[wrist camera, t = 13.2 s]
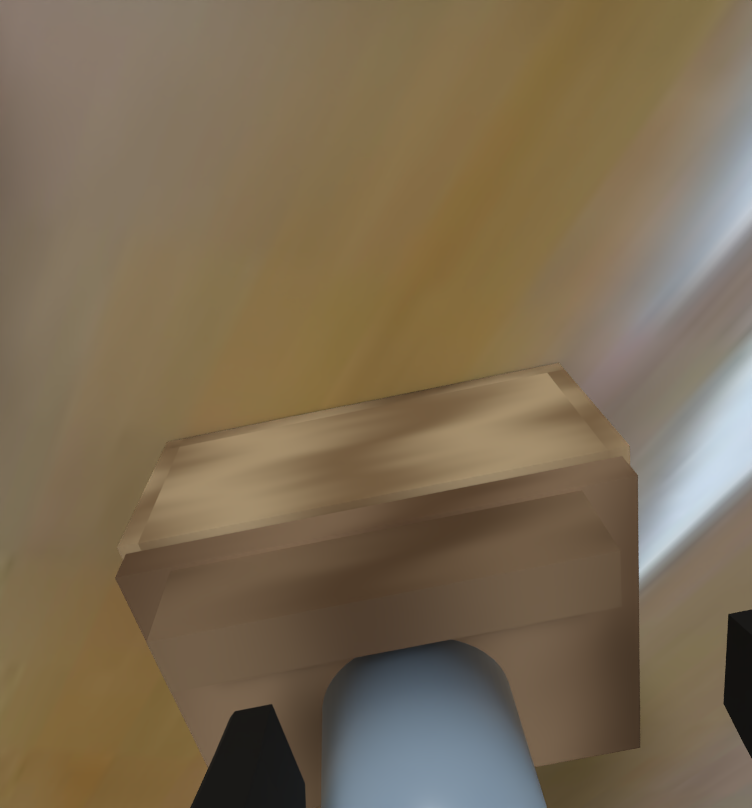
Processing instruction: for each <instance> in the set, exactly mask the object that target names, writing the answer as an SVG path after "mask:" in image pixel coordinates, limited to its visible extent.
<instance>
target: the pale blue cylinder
mask: <svg viewBox="0 0 752 808" xmlns="http://www.w3.org/2000/svg"><path fill="white" fill-rule="evenodd" d="M321 808H547V806H546V803H545V800H544V796H543V793H542V790H541V787H540V783H539V780H538V777H537V773H536V770H535V767H534V764H533V760H532V757H531V754H530V750H529V747H528V744H527V741H526V737H525V734H524V731H523V727H522V724H521V721H520V718H519V714H518V711H517V708H516V704H515V701H514V698H513V695H512V691H511V688H510V685H509V682H508V679H507V677H506V675H505V673H504V671H503V670H502V668H501V667H500V666H499V665H498V663H497V662H496V661H495V660H494V659H493V658H491V657H490V656H489V655H487V654H486V653H485V652H483V651H481V650H479V649H478V648H476V647H473V646H471V645H469V644H466V643H463V642H460V641H456V640H452V639H450V640H445V641H440V642H435V643H430V644H424V645H419V646H414V647H409V648H403V649H398V650H393V651H388V652H382V653H377V654H372V655H367V656H361V657H356V658H354V659H353V660H351V661H350V662H349V663H347V664H346V665H345V666H344V667H343V668H342V669H341V670H340V671H339V672H338V673H337V674H336V676H335V677H334V678H333V679H332V681H331V683H330V684H329V686H328V688H327V690H326V693H325V696H324V700H323V705H322V768H321Z"/></svg>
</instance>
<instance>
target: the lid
mask: <svg viewBox="0 0 752 808" xmlns="http://www.w3.org/2000/svg"><path fill="white" fill-rule="evenodd" d="M115 579H116V581H117V583H118V585H119V587H120V589H121V591H122V593H123V595H124V597H125V599H126V601H127V603H128V605H129V607H130V609H131V611H132V613H133V615H134V617H135V620H136V622H137V624H138V626H139V628H140V630H141V632H142V634H143V636H144V638H145V640H146V643H147V645H148V647H149V649H150V651H151V653H152V655H153V657H154V659H155V661H156V663H157V665H158V667H159V669H160V671H161V673H162V675H163V677H164V679H165V681H166V684H167V686H168V688H169V690H170V692H171V693H172V695H173V697H174V699H175V701H176V703H177V705H178V707H179V709H180V712H181V714H182V716H183V718H184V720H185V722H186V724H187V726H188V728H189V730H190V732H191V734H192V736H193V738H194V740H195V742H196V744H197V746H198V748H199V750H200V752H201V754H202V757H203V759H204V761H205V763H206V765H207V767H208V768H209V765H210V763H211V761H212V759H213V756H214V754H215V752H216V749H217V747H218V745H219V742H220V740H221V738H222V735H223V733H224V731H225V728H226V726H227V723H228V721H229V719H230V717H231V715H232V714H233V713H234V712H235V711H238V710H243V709H249V708H254V707H259V706H264V705H269V704H272V705H273V708H274V710H275V712H276V715H277V717H278V720H279V722H280V724H281V727H282V729H283V732H284V734H285V736H286V739H287V741H288V743H289V746H290V748H291V751H292V753H293V755H294V758H295V760H296V763H297V765H298V767H299V770H300V772H301V775H302V777H303V779H304V782H305V794H306V808H316V807H321V768H322V705H323V700H324V696H325V693H326V690H327V688H328V686H329V684H330V683H331V681H332V679H333V678H334V677H335V676H336V674H337V673H338V672H339V671H340V670H341V669H342V668H343V667H344V666H345V665H346V664H347V663H349V662H350V661H351V660H353V659H354V658H356V657H361V656H367V655H372V654H377V653H382V652H388V651H393V650H398V649H403V648H409V647H414V646H419V645H424V644H430V643H435V642H440V641H445V640H450V639H452V640H456V641H460V642H463V643H466V644H469V645H471V646H473V647H476V648H478V649H479V650H481V651H483V652H485V653H486V654H487V655H489V656H490V657H491V658H493V659H494V660H495V661H496V662H497V663H498V665H499V666H500V667H501V668H502V670H503V671H504V673H505V675H506V677H507V679H508V682H509V685H510V688H511V691H512V695H513V698H514V701H515V704H516V708H517V711H518V714H519V718H520V721H521V724H522V727H523V731H524V734H525V737H526V741H527V744H528V747H529V750H530V754H531V757H532V760H533V764H534V767H538V766H543V765H549V764H554V763H560V762H565V761H570V760H576V759H581V758H587V757H592V756H597V755H603V754H608V753H614V752H619V751H625V750H630V749H635V748H640V668H639V560H638V475H637V474H636V473H635V471H634V470H633V469H632V468H631V466H630V465H629V464H628V463H627V461H626V460H625V459H624V458H623V456H620V457H614V458H609V459H604V460H599V461H594V462H589V463H584V464H579V465H574V466H569V467H564V468H559V469H554V470H549V471H544V472H539V473H533V474H528V475H523V476H518V477H513V478H508V479H503V480H498V481H493V482H488V483H483V484H478V485H473V486H468V487H463V488H458V489H452V490H447V491H442V492H437V493H432V494H427V495H422V496H417V497H412V498H407V499H402V500H397V501H392V502H387V503H382V504H376V505H371V506H366V507H361V508H356V509H351V510H346V511H341V512H336V513H331V514H326V515H321V516H316V517H311V518H306V519H301V520H295V521H290V522H285V523H280V524H275V525H270V526H265V527H260V528H255V529H250V530H245V531H240V532H235V533H230V534H225V535H220V536H214V537H209V538H204V539H199V540H194V541H189V542H184V543H179V544H174V545H169V546H164V547H159V548H154V549H149V550H144V551H139V552H133V553H128V554H126V555H125V557H124V559H123V562H122V564H121V566H120V568H119V571H118V573H117V575H116V577H115Z"/></svg>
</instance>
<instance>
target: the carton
mask: <svg viewBox="0 0 752 808" xmlns="http://www.w3.org/2000/svg"><path fill="white" fill-rule="evenodd" d="M620 456H623V458H624V459H625V460H626V461H627V463H628V464H629V465H630V446H629V445H628V443H627V442H626V441H625V440H624V439H623V438H622V436H621V435H620V434H619V433H618V432H617V431H616V429H615V428H614V427H613V426H612V425H611V423H610V422H609V421H608V420H607V419H606V418H605V416H604V415H603V414H602V413H601V412H600V411H599V409H598V408H597V407H596V406H595V405H594V404H593V402H592V401H591V400H590V399H589V398H588V397H587V395H586V394H585V393H584V392H583V391H582V390H581V388H580V387H579V386H578V385H577V384H576V383H575V381H574V380H573V379H572V378H571V377H570V375H569V374H568V373H567V372H566V371H565V370H564V368H563V367H562V366H561V365H560V364H559V363H555V364H550V365H545V366H540V367H535V368H530V369H526V370H521V371H516V372H511V373H506V374H501V375H496V376H491V377H486V378H481V379H476V380H471V381H466V382H461V383H456V384H451V385H446V386H441V387H436V388H431V389H427V390H422V391H417V392H412V393H407V394H402V395H397V396H392V397H387V398H382V399H377V400H372V401H367V402H362V403H357V404H352V405H347V406H342V407H337V408H332V409H328V410H323V411H318V412H313V413H308V414H303V415H298V416H293V417H288V418H283V419H278V420H273V421H268V422H263V423H258V424H253V425H248V426H243V427H238V428H234V429H229V430H224V431H219V432H214V433H209V434H204V435H199V436H194V437H189V438H184V439H179V440H174V441H169V442H167V443H166V445H165V447H164V450H163V452H162V454H161V456H160V458H159V460H158V462H157V464H156V466H155V468H154V471H153V473H152V475H151V477H150V479H149V481H148V483H147V485H146V487H145V490H144V492H143V494H142V496H141V498H140V500H139V502H138V504H137V506H136V508H135V511H134V513H133V515H132V517H131V519H130V521H129V523H128V525H127V527H126V529H125V532H124V534H123V536H122V538H121V540H120V542H119V544H118V546H117V549H118V551H119V553H120V555H121V557H122V559H124V557H125V555H126V554H128V553H133V552H139V551H144V550H149V549H154V548H159V547H164V546H169V545H174V544H179V543H184V542H189V541H194V540H199V539H204V538H209V537H214V536H220V535H225V534H230V533H235V532H240V531H245V530H250V529H255V528H260V527H265V526H270V525H275V524H280V523H285V522H290V521H295V520H301V519H306V518H311V517H316V516H321V515H326V514H331V513H336V512H341V511H346V510H351V509H356V508H361V507H366V506H371V505H376V504H382V503H387V502H392V501H397V500H402V499H407V498H412V497H417V496H422V495H427V494H432V493H437V492H442V491H447V490H452V489H458V488H463V487H468V486H473V485H478V484H483V483H488V482H493V481H498V480H503V479H508V478H513V477H518V476H523V475H528V474H533V473H539V472H544V471H549V470H554V469H559V468H564V467H569V466H574V465H579V464H584V463H589V462H594V461H599V460H604V459H609V458H614V457H620Z"/></svg>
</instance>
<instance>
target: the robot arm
mask: <svg viewBox="0 0 752 808" xmlns="http://www.w3.org/2000/svg"><path fill="white" fill-rule="evenodd" d="M724 705H725V707H726V709H727V711H728V713H729V715H730V717H731V719H732V721H733V723H734V725H735V727H736V729H737V731H738V733H739V735H740V737H741V739H742V741H743V743H744V745H745V747H746V749H747V750H748V752H749V754H750V756H751V758H752V610H747V611H742V612H737V613H732V614H729V615H728V633H727V651H726V669H725V687H724ZM190 808H306V794H305V782H304V779H303V777H302V775H301V772H300V770H299V767H298V765H297V763H296V760H295V758H294V755H293V753H292V751H291V748H290V746H289V743H288V741H287V739H286V736H285V734H284V732H283V729H282V727H281V724H280V722H279V720H278V717H277V715H276V712H275V710H274V708H273V705H272V704H269V705H264V706H259V707H254V708H249V709H243V710H238V711H235V712H234V713H233V714H232V715H231V717H230V719H229V721H228V723H227V726H226V728H225V731H224V733H223V735H222V738H221V740H220V742H219V745H218V747H217V749H216V752H215V754H214V756H213V759H212V761H211V763H210V765H209V768H208V770H207V772H206V774H205V777H204V779H203V781H202V783H201V786H200V788H199V790H198V792H197V794H196V796H195V799H194V801H193V803H192V805H191V807H190Z"/></svg>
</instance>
